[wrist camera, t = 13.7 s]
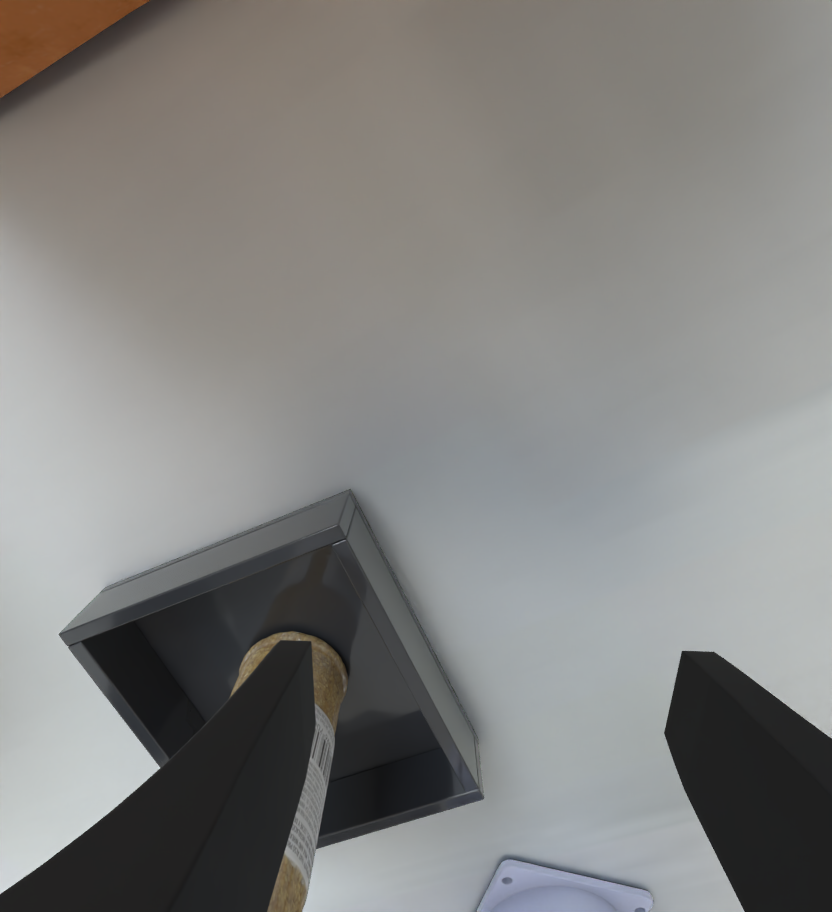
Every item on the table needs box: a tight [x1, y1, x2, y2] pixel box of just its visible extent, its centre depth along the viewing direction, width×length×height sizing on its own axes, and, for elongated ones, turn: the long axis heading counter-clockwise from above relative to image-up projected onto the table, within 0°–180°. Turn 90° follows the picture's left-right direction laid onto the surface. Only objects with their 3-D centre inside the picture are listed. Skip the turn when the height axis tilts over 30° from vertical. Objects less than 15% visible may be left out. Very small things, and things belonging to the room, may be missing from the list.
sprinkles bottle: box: [229, 631, 348, 912], centre depth 17 cm, size 5×5×13 cm
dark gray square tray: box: [59, 489, 484, 849], centre depth 22 cm, size 13×11×3 cm
